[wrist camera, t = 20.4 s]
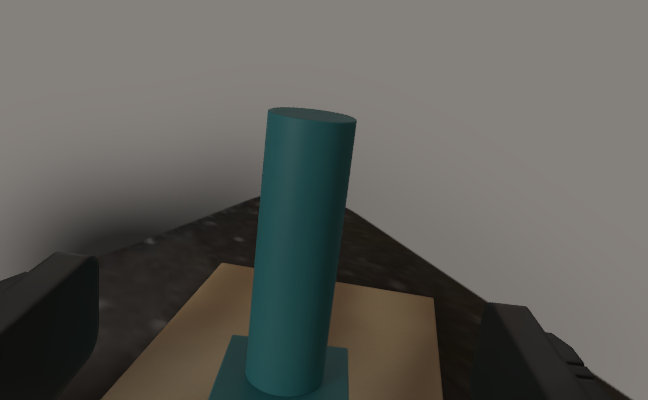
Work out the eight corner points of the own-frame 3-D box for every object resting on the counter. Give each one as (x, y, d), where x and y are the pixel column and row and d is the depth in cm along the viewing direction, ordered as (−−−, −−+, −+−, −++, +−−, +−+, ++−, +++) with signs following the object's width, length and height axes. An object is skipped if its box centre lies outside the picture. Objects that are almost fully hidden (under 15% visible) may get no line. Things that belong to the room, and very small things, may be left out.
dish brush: (341, 395, 25) (381, 114, 21) (341, 480, 20) (392, 134, 17) (228, 382, 25) (250, 98, 21) (200, 464, 20) (224, 114, 17)
